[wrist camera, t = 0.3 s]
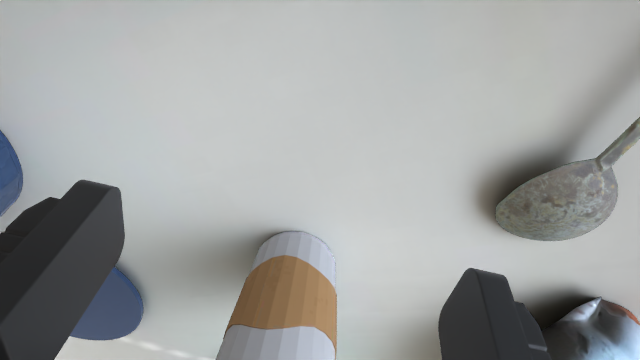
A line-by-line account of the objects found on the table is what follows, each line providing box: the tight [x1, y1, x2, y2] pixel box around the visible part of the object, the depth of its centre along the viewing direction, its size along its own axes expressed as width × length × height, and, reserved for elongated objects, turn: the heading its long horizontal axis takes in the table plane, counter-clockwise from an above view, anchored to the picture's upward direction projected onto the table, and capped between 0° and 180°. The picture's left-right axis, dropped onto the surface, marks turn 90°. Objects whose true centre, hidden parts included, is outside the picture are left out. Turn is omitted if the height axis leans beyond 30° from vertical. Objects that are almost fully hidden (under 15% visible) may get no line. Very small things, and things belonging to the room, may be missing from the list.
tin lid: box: [70, 267, 143, 340], centre depth 38 cm, size 14×14×6 cm
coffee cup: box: [216, 231, 337, 360], centre depth 29 cm, size 8×8×15 cm
